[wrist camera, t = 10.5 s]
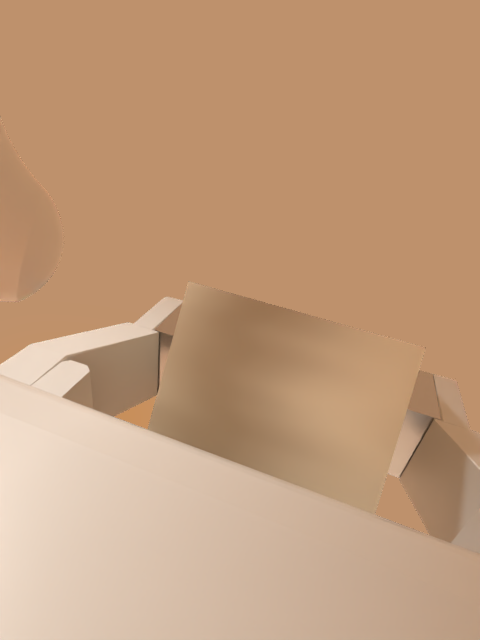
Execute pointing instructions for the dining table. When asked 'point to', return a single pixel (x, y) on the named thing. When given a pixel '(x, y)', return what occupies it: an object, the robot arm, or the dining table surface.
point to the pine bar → (286, 393)
